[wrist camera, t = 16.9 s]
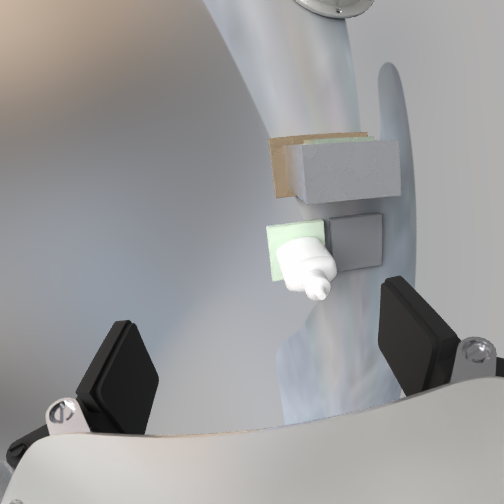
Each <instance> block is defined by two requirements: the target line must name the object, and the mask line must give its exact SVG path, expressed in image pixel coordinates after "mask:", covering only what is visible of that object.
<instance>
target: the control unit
mask: <svg viewBox="0 0 504 504" xmlns="http://www.w3.org/2000/svg"><path fill="white" fill-rule="evenodd" d="M268 142H269V150H270V158H271V166H272V174H273V182H274V191H275V197H276V198H282V197H290V196H298V197H299V198H300V199H301V200H302V201H303V202H305V203H306V204H307V205H310V204H319V203H328V202H338V201H347V200H357V199H367V198H378V197H389V196H401V174H400V156H399V143H398V141H382V140H376V141H375V140H374V137H368V135H367V132H355V133H332V134H315V135H302V136H290V137H279V138H270V139H268Z"/></svg>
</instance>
